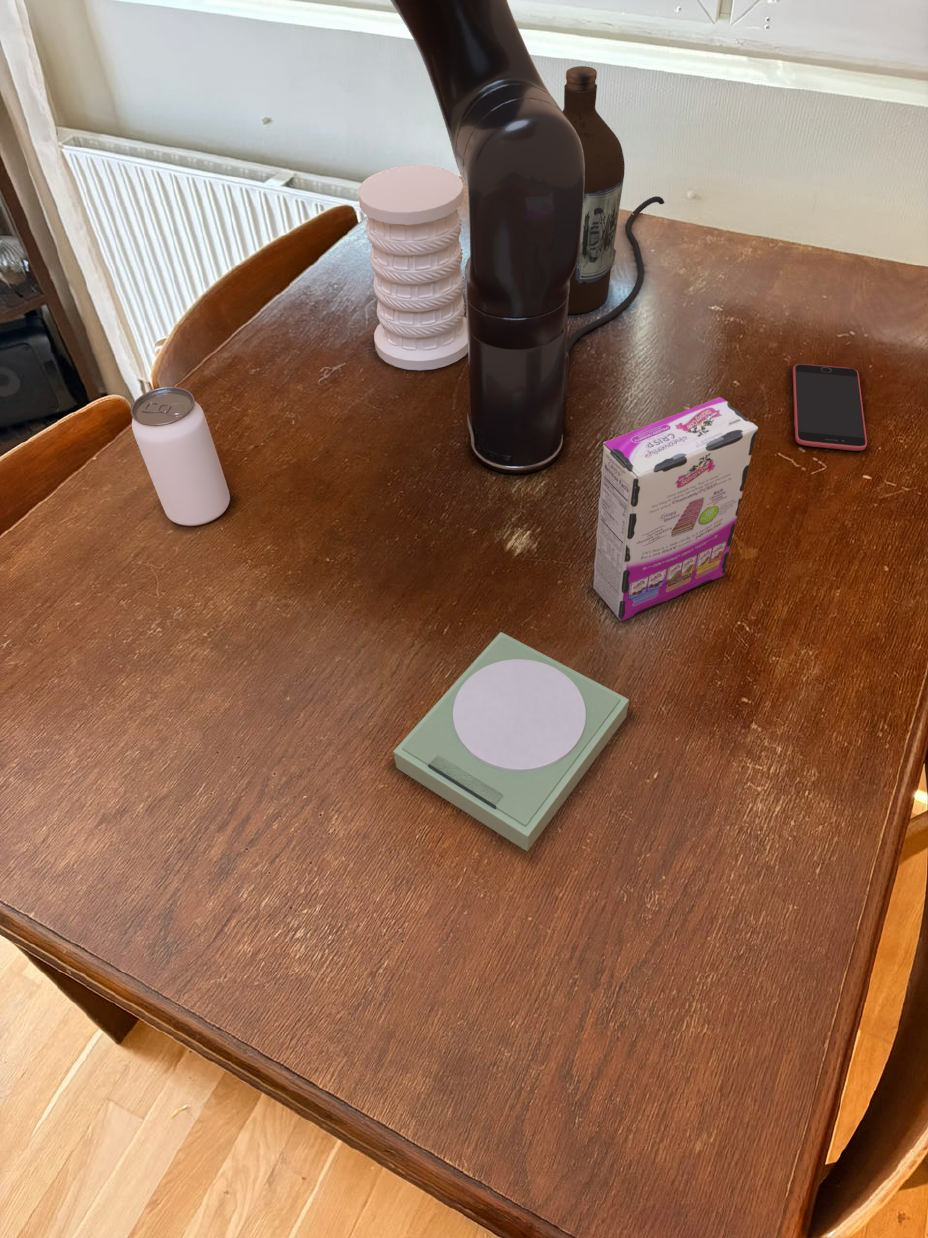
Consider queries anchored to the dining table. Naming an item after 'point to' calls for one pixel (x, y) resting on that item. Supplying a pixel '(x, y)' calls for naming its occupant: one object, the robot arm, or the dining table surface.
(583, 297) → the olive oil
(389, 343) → the decorative container
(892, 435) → the dining table surface
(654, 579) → the candy bar box
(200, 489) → the can
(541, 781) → the scale
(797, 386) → the smartphone
